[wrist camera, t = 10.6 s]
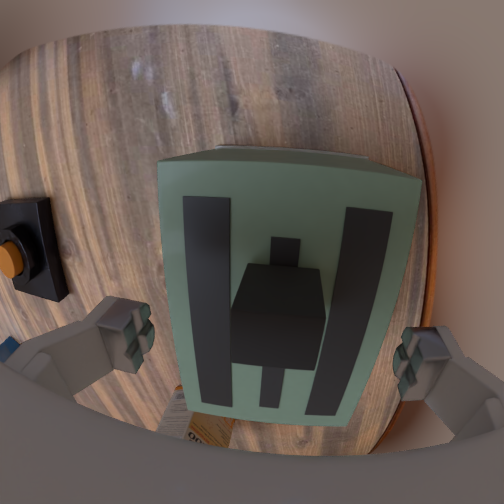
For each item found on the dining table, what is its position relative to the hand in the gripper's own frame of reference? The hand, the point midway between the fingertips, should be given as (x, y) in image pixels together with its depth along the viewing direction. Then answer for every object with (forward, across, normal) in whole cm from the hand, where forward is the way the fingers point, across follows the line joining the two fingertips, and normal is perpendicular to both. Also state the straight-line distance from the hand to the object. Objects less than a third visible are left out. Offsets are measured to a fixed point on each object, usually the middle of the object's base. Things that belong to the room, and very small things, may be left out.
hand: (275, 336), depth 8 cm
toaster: (+15, 0, +4) cm, 16 cm away
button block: (+15, +30, +6) cm, 34 cm away
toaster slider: (+4, 0, +1) cm, 4 cm away
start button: (+12, +30, +6) cm, 33 cm away
